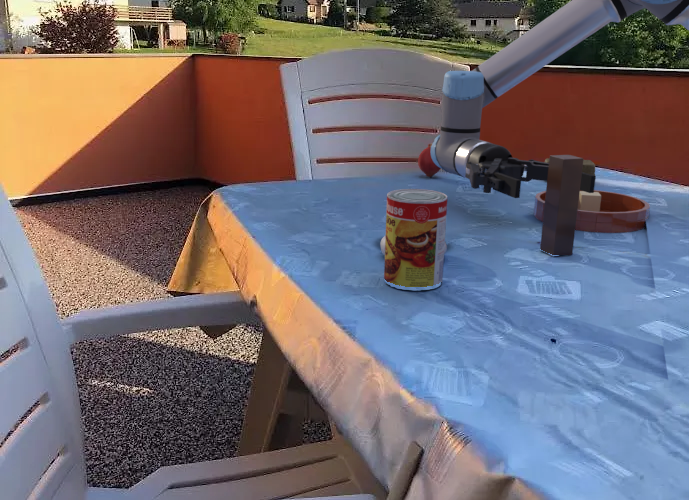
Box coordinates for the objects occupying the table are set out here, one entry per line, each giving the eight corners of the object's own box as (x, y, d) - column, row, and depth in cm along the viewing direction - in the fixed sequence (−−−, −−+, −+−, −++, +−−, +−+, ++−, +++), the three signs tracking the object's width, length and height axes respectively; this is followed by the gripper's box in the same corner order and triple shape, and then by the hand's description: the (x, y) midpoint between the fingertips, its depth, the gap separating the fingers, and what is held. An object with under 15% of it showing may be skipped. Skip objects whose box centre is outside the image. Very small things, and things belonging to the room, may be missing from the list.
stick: (558, 248, 112) (569, 154, 108) (572, 255, 109) (583, 158, 105) (539, 250, 111) (549, 155, 107) (553, 257, 108) (563, 159, 104)
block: (596, 209, 136) (598, 192, 135) (599, 214, 132) (601, 195, 131) (577, 208, 136) (579, 190, 135) (579, 213, 133) (581, 194, 132)
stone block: (541, 177, 169) (544, 156, 168) (591, 180, 167) (594, 159, 166) (544, 182, 164) (546, 161, 162) (595, 185, 162) (598, 163, 160)
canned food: (384, 271, 100) (387, 187, 96) (441, 273, 99) (446, 189, 96) (382, 290, 92) (386, 200, 89) (443, 293, 92) (449, 202, 88)
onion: (422, 173, 171) (423, 140, 169) (445, 176, 169) (447, 142, 167) (413, 177, 166) (415, 143, 164) (437, 180, 164) (439, 145, 162)
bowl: (644, 214, 135) (647, 194, 134) (648, 241, 117) (652, 217, 116) (539, 205, 141) (541, 185, 140) (527, 228, 124) (529, 206, 123)
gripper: (541, 180, 133) (619, 205, 114) (421, 187, 125) (483, 215, 106) (545, 140, 131) (625, 159, 112) (423, 144, 123) (487, 166, 104)
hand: (556, 186), depth 109 cm, fingers open, 13 cm apart
